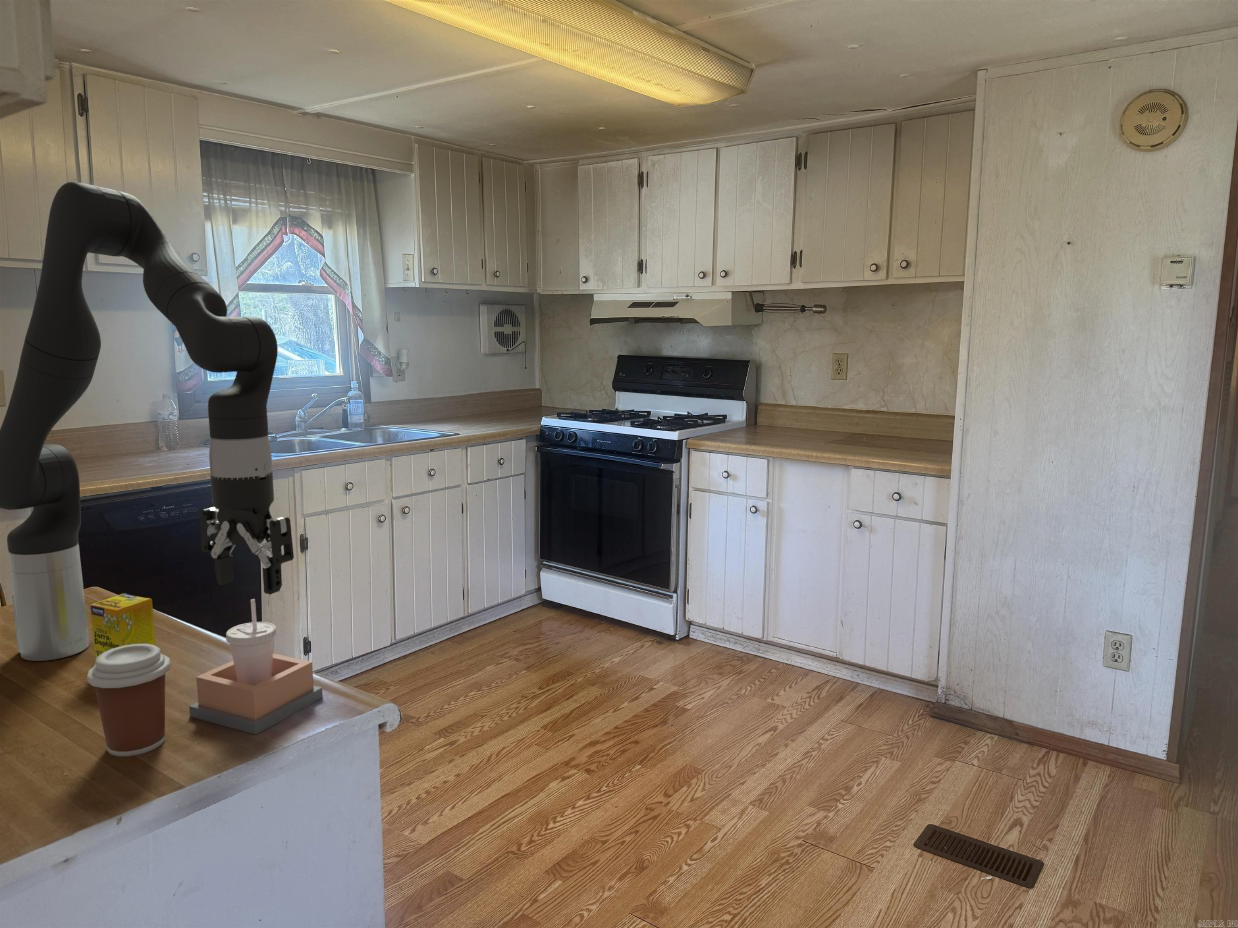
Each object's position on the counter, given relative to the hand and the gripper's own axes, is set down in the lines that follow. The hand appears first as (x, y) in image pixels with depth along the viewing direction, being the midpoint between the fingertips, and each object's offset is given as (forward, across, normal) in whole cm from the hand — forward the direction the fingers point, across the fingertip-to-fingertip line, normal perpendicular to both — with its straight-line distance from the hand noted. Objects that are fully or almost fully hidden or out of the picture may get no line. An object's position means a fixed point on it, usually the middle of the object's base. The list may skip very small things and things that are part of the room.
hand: (249, 587), depth 115 cm
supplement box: (+18, -28, +1) cm, 33 cm away
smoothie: (+16, 0, 0) cm, 16 cm away
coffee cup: (+18, -6, -14) cm, 23 cm away
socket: (+17, 0, 0) cm, 17 cm away
